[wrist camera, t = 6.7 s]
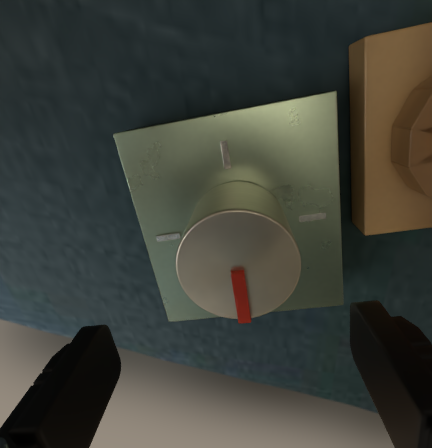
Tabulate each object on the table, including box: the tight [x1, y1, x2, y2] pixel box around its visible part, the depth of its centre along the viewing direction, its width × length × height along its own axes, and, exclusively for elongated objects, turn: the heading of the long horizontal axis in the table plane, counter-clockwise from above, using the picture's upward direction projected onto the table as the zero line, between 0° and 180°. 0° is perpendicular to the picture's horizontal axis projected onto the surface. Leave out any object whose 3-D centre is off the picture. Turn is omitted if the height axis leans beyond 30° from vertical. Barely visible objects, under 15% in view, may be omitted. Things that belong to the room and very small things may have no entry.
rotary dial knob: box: [175, 181, 301, 323], centre depth 14 cm, size 5×5×5 cm
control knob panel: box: [113, 90, 343, 322], centre depth 18 cm, size 11×12×3 cm
